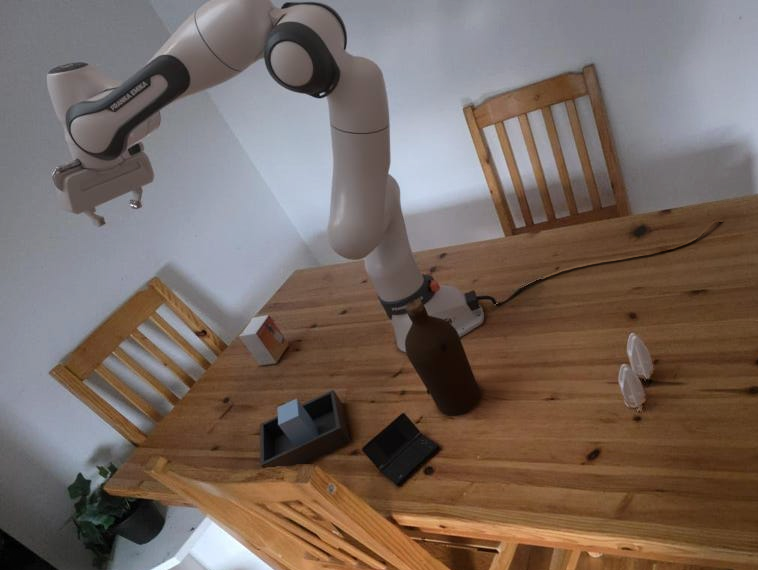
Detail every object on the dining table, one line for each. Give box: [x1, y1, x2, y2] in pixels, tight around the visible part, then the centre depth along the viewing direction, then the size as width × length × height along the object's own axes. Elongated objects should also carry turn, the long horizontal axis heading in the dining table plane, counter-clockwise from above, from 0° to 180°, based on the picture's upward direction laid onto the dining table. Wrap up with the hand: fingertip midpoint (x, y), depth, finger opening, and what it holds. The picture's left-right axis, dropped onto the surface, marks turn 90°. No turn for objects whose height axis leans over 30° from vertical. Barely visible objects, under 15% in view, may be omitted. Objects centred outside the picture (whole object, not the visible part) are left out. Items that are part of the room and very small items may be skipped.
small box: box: [238, 314, 290, 366], centre depth 158 cm, size 8×6×10 cm
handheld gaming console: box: [361, 412, 440, 487], centre depth 114 cm, size 12×7×10 cm
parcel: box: [277, 398, 318, 447], centre depth 126 cm, size 4×6×9 cm
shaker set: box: [617, 332, 654, 413], centre depth 107 cm, size 12×4×11 cm, turn 155°
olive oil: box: [405, 299, 481, 417], centre depth 116 cm, size 11×11×25 cm
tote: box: [259, 389, 351, 469], centre depth 128 cm, size 18×14×5 cm
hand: (119, 216), depth 128 cm, fingers open, 8 cm apart
